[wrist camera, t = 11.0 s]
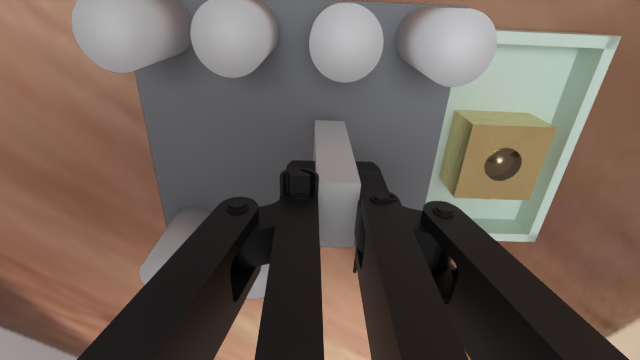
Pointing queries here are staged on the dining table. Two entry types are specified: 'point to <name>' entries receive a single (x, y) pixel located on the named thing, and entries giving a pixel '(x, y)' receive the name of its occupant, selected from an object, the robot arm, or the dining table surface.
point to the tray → (537, 99)
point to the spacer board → (281, 91)
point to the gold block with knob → (495, 154)
